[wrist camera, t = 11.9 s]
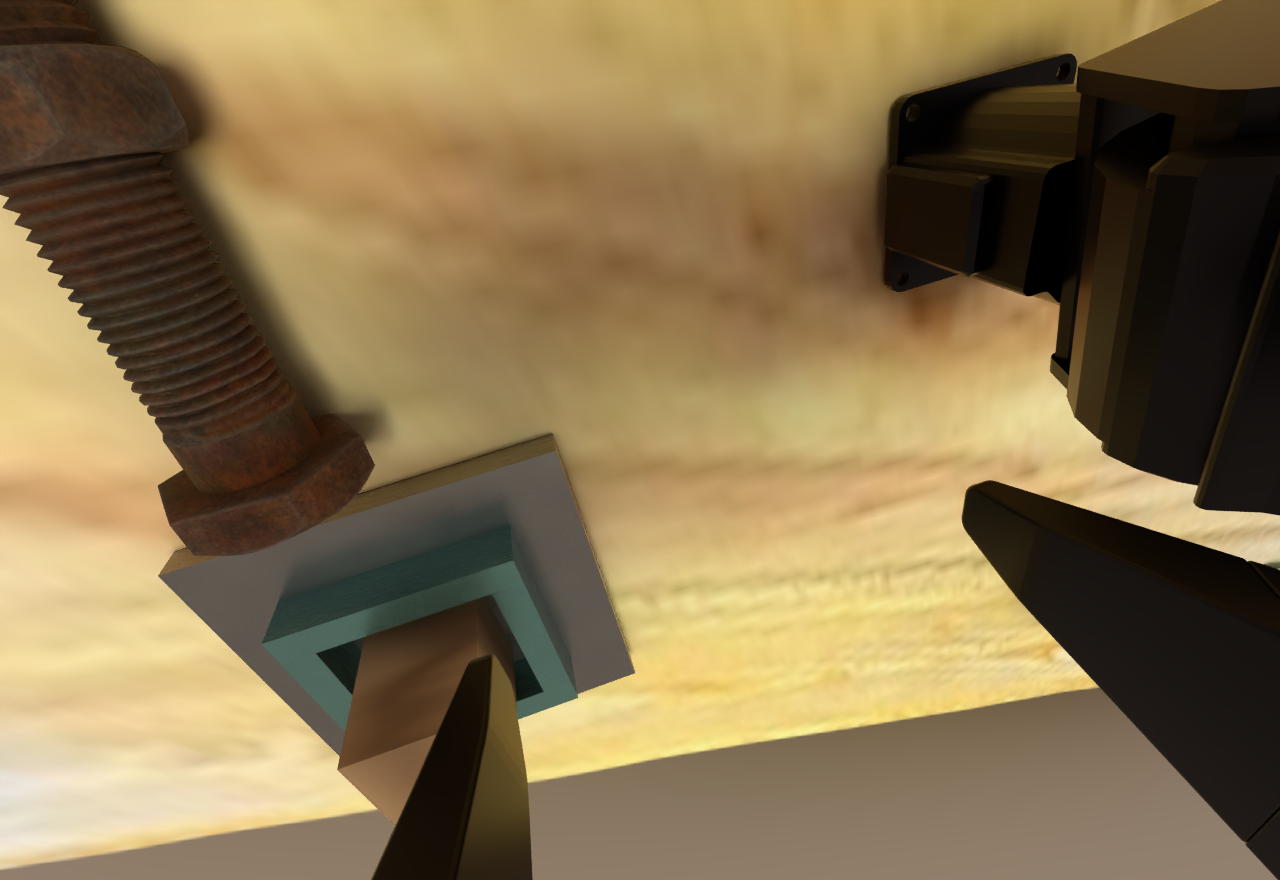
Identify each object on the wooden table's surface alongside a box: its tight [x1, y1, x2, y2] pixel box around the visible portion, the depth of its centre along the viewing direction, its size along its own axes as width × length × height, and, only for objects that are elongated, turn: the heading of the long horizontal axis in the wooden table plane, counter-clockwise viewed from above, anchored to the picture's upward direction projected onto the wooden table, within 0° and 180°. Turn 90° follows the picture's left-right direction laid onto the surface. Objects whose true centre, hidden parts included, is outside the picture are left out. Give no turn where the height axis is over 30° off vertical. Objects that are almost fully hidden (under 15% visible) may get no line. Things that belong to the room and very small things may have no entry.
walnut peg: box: [337, 596, 517, 825], centre depth 21 cm, size 4×4×6 cm
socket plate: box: [158, 434, 635, 756], centre depth 23 cm, size 14×14×3 cm
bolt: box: [0, 0, 375, 556], centre depth 14 cm, size 6×5×15 cm
